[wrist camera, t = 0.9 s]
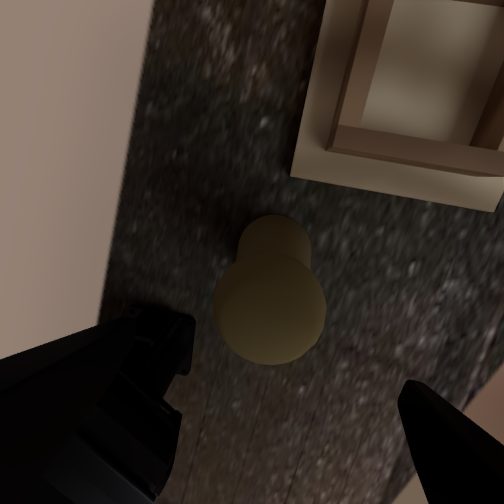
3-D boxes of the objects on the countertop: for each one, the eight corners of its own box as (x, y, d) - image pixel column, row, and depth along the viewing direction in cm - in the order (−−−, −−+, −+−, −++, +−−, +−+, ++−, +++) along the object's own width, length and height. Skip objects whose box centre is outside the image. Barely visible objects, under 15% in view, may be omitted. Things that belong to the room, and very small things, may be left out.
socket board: (482, 210, 18) (528, 218, 14) (289, 176, 19) (291, 175, 15) (597, -43, 14) (700, -115, 10) (341, -73, 14) (359, -149, 11)
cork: (233, 218, 20) (180, 263, 10) (309, 210, 19) (343, 250, 9) (242, 286, 22) (206, 388, 11) (313, 282, 21) (345, 388, 10)
